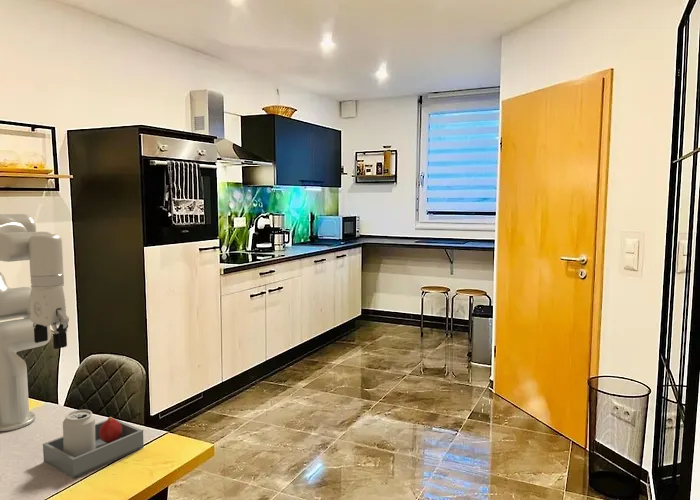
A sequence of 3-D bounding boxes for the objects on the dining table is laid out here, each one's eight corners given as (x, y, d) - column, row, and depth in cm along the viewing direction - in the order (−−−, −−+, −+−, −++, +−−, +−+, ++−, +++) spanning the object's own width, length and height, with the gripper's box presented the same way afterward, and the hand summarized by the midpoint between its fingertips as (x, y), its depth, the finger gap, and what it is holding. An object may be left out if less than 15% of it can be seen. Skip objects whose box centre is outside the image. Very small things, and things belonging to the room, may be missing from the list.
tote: (43, 462, 137) (42, 443, 136) (113, 433, 153) (112, 417, 152) (73, 479, 129) (73, 459, 128) (143, 447, 145) (143, 430, 144)
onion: (100, 441, 147) (99, 414, 146) (123, 438, 149) (122, 411, 148) (99, 450, 141) (98, 422, 140) (122, 447, 143) (121, 419, 143)
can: (82, 466, 133) (81, 421, 132) (57, 462, 134) (55, 418, 133) (101, 452, 141) (101, 409, 139) (77, 448, 142) (76, 406, 140)
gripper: (16, 279, 138) (19, 342, 140) (49, 286, 129) (53, 353, 130) (45, 276, 144) (48, 336, 146) (79, 282, 135) (82, 346, 137)
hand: (50, 344), depth 138 cm, fingers open, 9 cm apart
